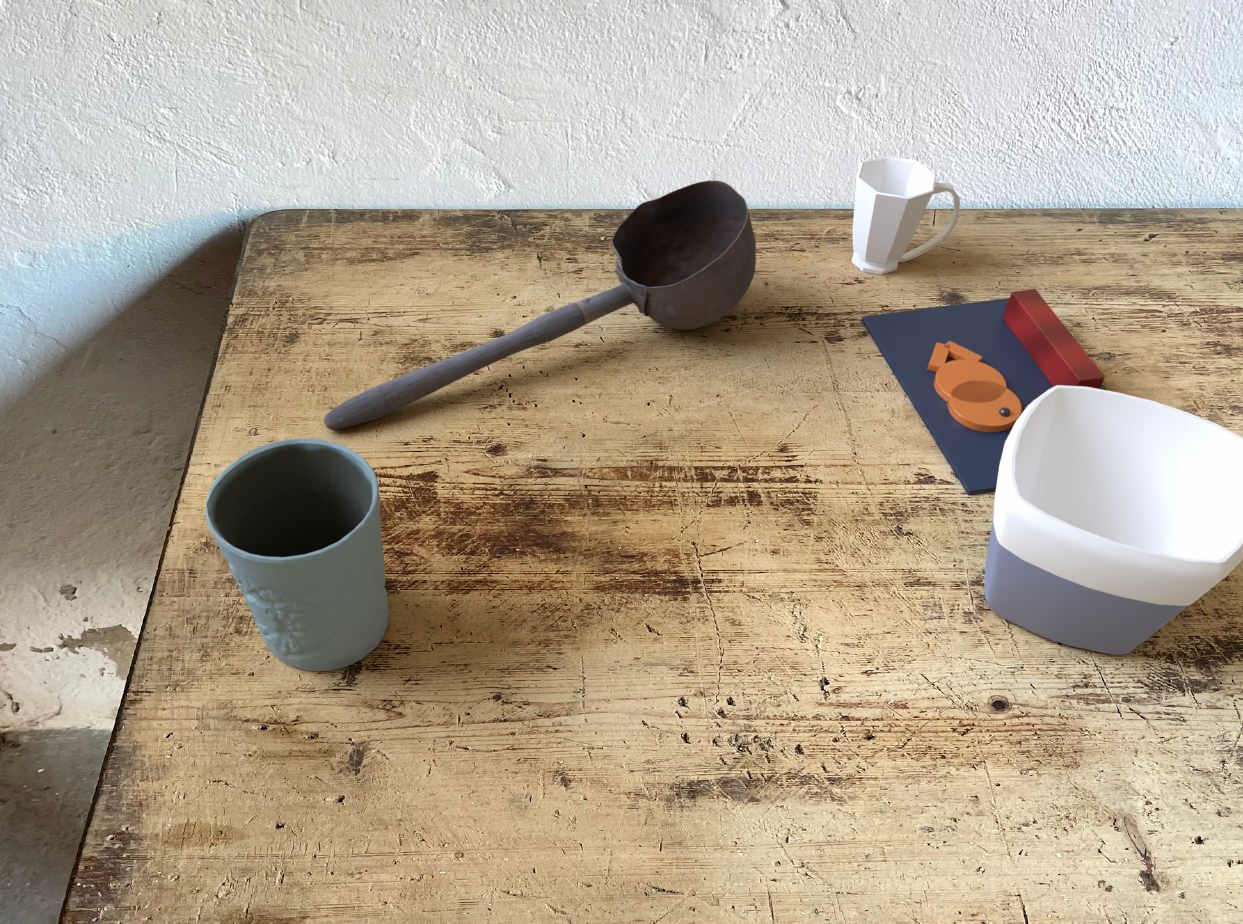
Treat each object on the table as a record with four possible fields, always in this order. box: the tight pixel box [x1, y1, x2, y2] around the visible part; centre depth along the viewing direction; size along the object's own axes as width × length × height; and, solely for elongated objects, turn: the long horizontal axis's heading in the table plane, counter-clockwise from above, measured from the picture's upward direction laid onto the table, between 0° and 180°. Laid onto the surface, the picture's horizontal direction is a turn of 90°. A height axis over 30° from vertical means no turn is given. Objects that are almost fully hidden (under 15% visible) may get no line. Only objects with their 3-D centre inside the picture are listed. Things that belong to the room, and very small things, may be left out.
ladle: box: [323, 180, 757, 431], centre depth 92 cm, size 12×38×10 cm, turn 119°
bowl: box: [983, 385, 1243, 655], centre depth 74 cm, size 15×15×11 cm
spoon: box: [1002, 288, 1106, 389], centre depth 90 cm, size 17×5×3 cm, turn 12°
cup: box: [851, 155, 961, 276], centre depth 99 cm, size 7×10×8 cm
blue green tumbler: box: [205, 438, 390, 672], centre depth 71 cm, size 10×10×12 cm
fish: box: [927, 341, 1022, 432], centre depth 90 cm, size 11×6×1 cm, turn 12°
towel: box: [860, 297, 1109, 496], centre depth 91 cm, size 16×22×1 cm
